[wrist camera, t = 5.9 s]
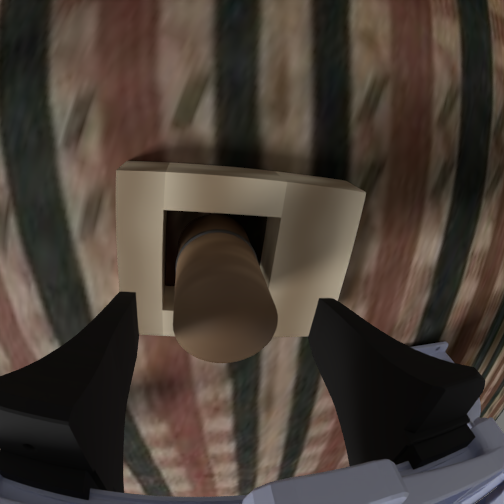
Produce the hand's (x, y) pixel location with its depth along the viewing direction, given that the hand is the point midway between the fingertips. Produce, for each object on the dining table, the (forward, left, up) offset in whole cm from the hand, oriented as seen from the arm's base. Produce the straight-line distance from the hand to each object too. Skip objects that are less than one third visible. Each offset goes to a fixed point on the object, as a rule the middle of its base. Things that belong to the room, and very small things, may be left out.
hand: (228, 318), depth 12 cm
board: (-1, 0, -7) cm, 7 cm away
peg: (0, 0, -7) cm, 7 cm away
